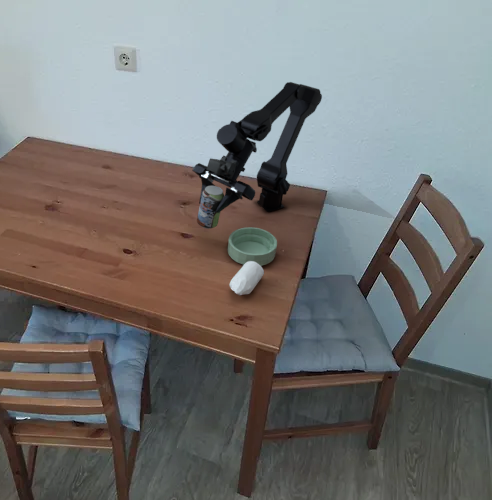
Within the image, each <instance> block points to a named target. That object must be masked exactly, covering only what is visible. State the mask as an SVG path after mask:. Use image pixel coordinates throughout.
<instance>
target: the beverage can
mask: <svg viewBox="0 0 492 500" xmlns="http://www.w3.org/2000/svg"><path fill="white" fill-rule="evenodd" d="M224 195H225V193H224V190H223V188H221V187H220V186H217V185H215V186H207V187H206V188H205V189H204V191H203V192H202V197H201V202H200V204H199V208H198V213H197V217H196V223H197V224H198V226H200V227H201V228H204V229H207V230H210V229H211V230H212V229H214V228H216V227H217V226H218V224H219V220H220V217H221V211H220V212H219V213H217V212H216V210H217V207H218V205H219V204H220V202H221V200H222V199H223V197H224Z"/></svg>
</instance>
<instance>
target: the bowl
mask: <svg viewBox="0 0 492 500" xmlns="http://www.w3.org/2000/svg"><path fill="white" fill-rule="evenodd" d="M277 246H278V240H277V238H276V237H275V235H273V234H272V232H270V231H268V230H266V229H263V228H259V227H251V226H249V227H246V226H245V227H241V228H237V229H235V230H233V231H232V232H231V233H230V234H229V236H228V242H227V254H228V256H229V257H230V258H231V259H232V260H233V261H234V262H236V263H238V264H241V265H242V266H243V265H244V264H245V263H246V262H248V261H254V262H256V263H258V264H259V265H260V266H261V267H262V266H266V265H268V264H270V263H271V262H273V261H274V259H275V258H276V253H277Z"/></svg>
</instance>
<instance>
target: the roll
mask: <svg viewBox="0 0 492 500" xmlns="http://www.w3.org/2000/svg"><path fill="white" fill-rule="evenodd" d="M264 275H265V271H264V268H263V267H262V266H260V265H259V264H258V263H256V262H254V261H248V262H246V263H245V264H244V265H243V264H242V266H241V268H240V269H239V270H238V271H237V272H236V274H234V275H233V277H232V279H230V282H229V288H230V289H231V290H232V291H233V292H234V294H236V295H238V296H242V295H250V294H251V293H252V291H253V290H254V289H255V288H256V286H257V285H258V284H259V282H260V281H261V279H262V278H263V277H264Z"/></svg>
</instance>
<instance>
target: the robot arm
mask: <svg viewBox="0 0 492 500" xmlns="http://www.w3.org/2000/svg"><path fill="white" fill-rule="evenodd" d="M322 98H323V95H322V93H321V90H320V89H319V88H317V87H312V86H309V85H306V84H302V83H300V84H299V83H296V82H292V81H289V82H285V84H284V86H283V88H282V89H281V90H280V91H278V93H277V94H276V95H274V96H273V97H272V98H271V99H270V100H269V101H268V102H267V103H266V104H265V105H264V106H263V107H262V108H260V109H257V110H253V111H251V112H249V113H248V114H246V115H245V116H244V117H243V118H242V119H241V120H238V121H234V120H231V121H230V123H228V124H225V125H223V126H222V127H220V128H219V129H218V131H217V132H216V140H217V142H218V143H219V144H220V145H221V146H222V147H223V148H224V149H225V150H226V151H227V154H226V155H222V156H221V158H220V159H217V158H209V160H208V163H207V165H204V164H202V163H201V162H199V163H197V164H195V165H194V166H193V169H192V172H193V173H195V174H196V175H197V176H198V178H199V179H200V180H201V190H200V196H199V201H198V204H199V205H200V202H201V197H202V192H203V191H204V189H205V188H206V187H207V186H216V184H214V183H213V182H214V181H215V182H217V183H219V184H221V185H223V186H226V188H225V193H224V197H223V199H222V200H221V202H220V204H219V205H218V207H217V210H216V212H217V213H219V212H220V211H223V210H224V209H226V208H227V207H228V206H230V205H232V204H233V203H235V202H237V201H238V200H243V198H245V199H247V200H249V201H253V200H254V198H255V196H256V190H255V189H254V188H253V187H252V186H251V185H250V184H248V183H246V182H245V181H244V182H243V181H241V180H238V178H239V176H240V174H241V173H245V171H246V168H245V166H246V164H247V162H248V160H249V159H250V157H251V155H252V154H253V153H254V154H255V153H257V143H256V142H262V141H263V140H265V139H266V138H267V136H268V135H269V134H270V132H271V131H272V127H273V123H274V122H275V121H276V120H277V119H278V118H279V117H281V115H282V114H283V113H285V112H286V111H287V109H288V108H289V115H288V117H287V120H286V121H285V125H284V127H283V129H282V131H281V134H280V136H279V138H278V141H277V143H276V146H275V148H274V151H273V153H272V155H271V157H270V158H269V159H268V160H266V161H263V162H262V163H261V165H260V168H259V170H258V172H257V174H256V183H257V187H258V188H261V191H260V194H259V200H257V202H256V203H257V204H258V205H259V206H260V207H261V208H262V209H263V210H264V211H265V212H268V213H269V212H274V211H277V210H282V209H285V204H283V199H284V198H283V197H284V196H285V195H287V192H289V190H290V187H291V184H290V183H289V181H288V180H287V176H288V168H287V163H288V160H289V158H290V156H291V154H292V152H293V149H294V147H295V144H296V142H297V139H298V137H299V135H300V133H301V131H302V128H303V125H304V124H305V121H306V119H307V118H309V117H310V116H311V115H312V114H314V113H315V112H316V109H317V108H318V106H319V105H320V103H321V102H322V100H323V99H322ZM255 141H256V142H255ZM220 213H221V212H220Z"/></svg>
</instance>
